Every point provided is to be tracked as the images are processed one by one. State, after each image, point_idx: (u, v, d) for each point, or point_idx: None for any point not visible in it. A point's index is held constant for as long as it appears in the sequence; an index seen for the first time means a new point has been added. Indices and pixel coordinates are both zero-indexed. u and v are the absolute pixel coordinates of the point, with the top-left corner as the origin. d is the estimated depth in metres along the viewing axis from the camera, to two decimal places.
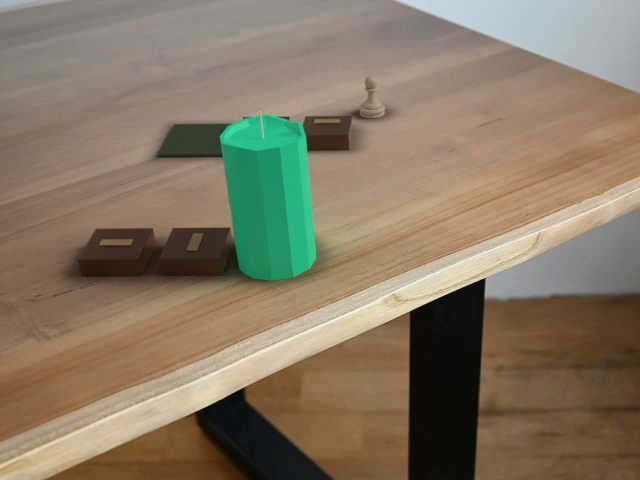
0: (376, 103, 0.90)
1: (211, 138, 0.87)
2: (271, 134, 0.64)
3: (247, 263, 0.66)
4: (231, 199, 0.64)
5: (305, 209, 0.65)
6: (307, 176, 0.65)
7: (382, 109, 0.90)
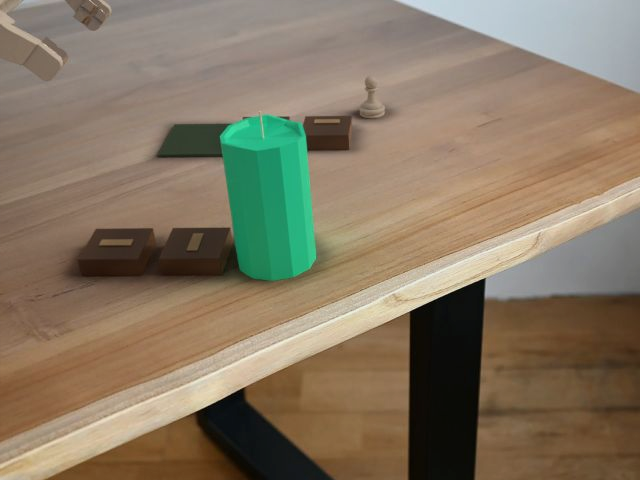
0: (376, 103, 0.90)
1: (211, 138, 0.87)
2: (271, 134, 0.64)
3: (247, 263, 0.66)
4: (231, 199, 0.64)
5: (305, 209, 0.65)
6: (307, 176, 0.65)
7: (382, 109, 0.90)
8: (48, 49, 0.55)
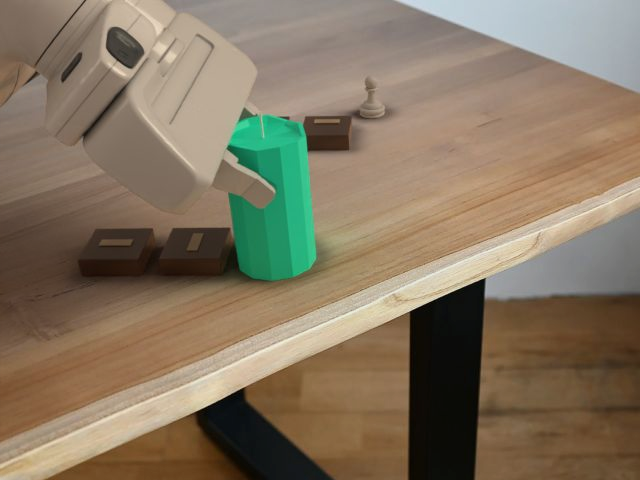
0: (376, 103, 0.90)
1: None
2: (272, 134, 0.64)
3: (247, 263, 0.66)
4: (231, 199, 0.64)
5: (305, 209, 0.65)
6: (307, 176, 0.65)
7: (382, 109, 0.90)
8: (264, 182, 0.61)
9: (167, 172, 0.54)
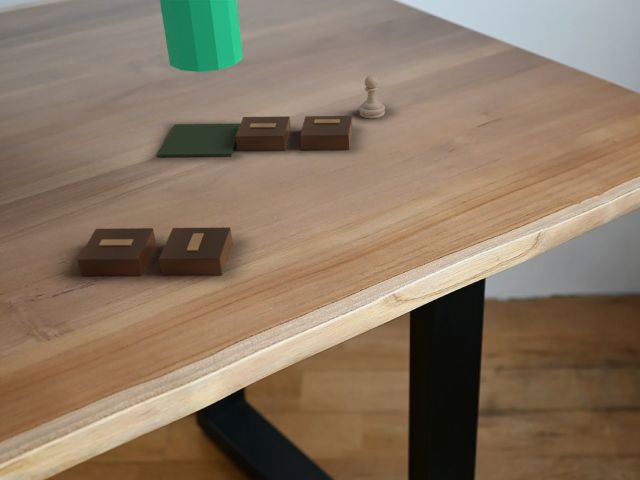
0: (376, 103, 0.90)
1: (211, 138, 0.87)
2: None
3: (176, 55, 0.71)
4: None
5: (229, 2, 0.70)
6: None
7: (382, 109, 0.90)
8: None
9: None
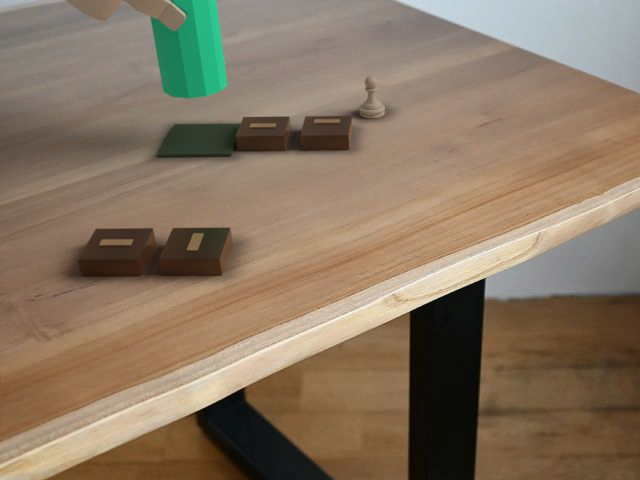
0: (376, 103, 0.90)
1: (211, 138, 0.87)
2: None
3: (168, 84, 0.81)
4: (153, 27, 0.79)
5: (214, 37, 0.80)
6: (215, 9, 0.80)
7: (382, 109, 0.90)
8: (176, 7, 0.76)
9: None
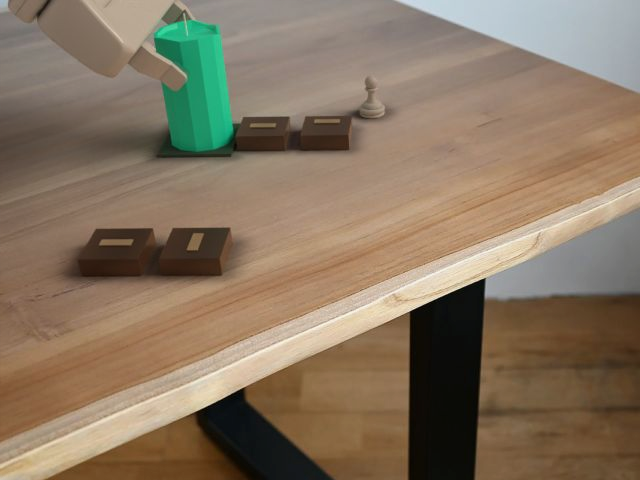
0: (376, 103, 0.90)
1: None
2: (194, 33, 0.82)
3: (177, 137, 0.84)
4: (163, 84, 0.82)
5: (221, 93, 0.83)
6: (223, 67, 0.82)
7: (382, 109, 0.90)
8: (177, 68, 0.77)
9: (100, 41, 0.71)
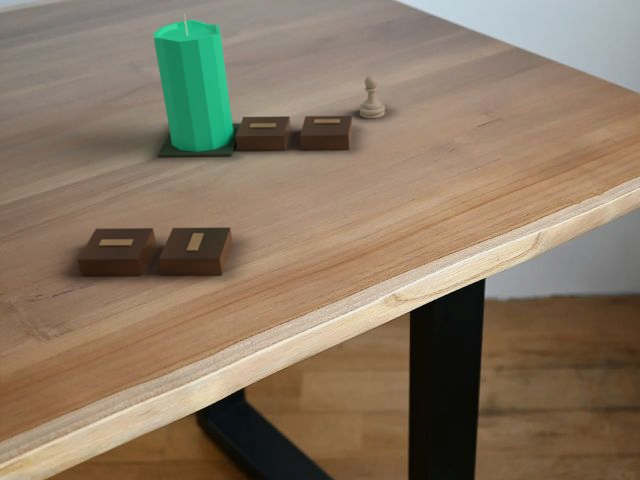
0: (376, 103, 0.90)
1: None
2: (194, 33, 0.82)
3: (177, 137, 0.84)
4: (163, 84, 0.82)
5: (221, 93, 0.83)
6: (223, 67, 0.82)
7: (382, 109, 0.90)
8: None
9: None
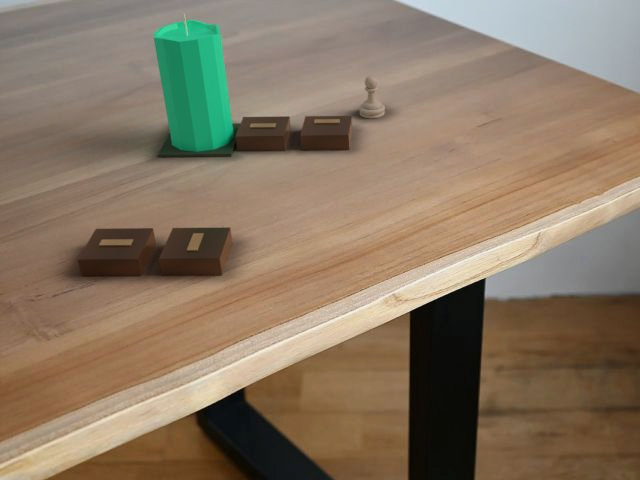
0: (376, 103, 0.90)
1: None
2: (194, 33, 0.82)
3: (177, 137, 0.84)
4: (163, 84, 0.82)
5: (221, 93, 0.83)
6: (223, 67, 0.82)
7: (382, 109, 0.90)
8: None
9: None
